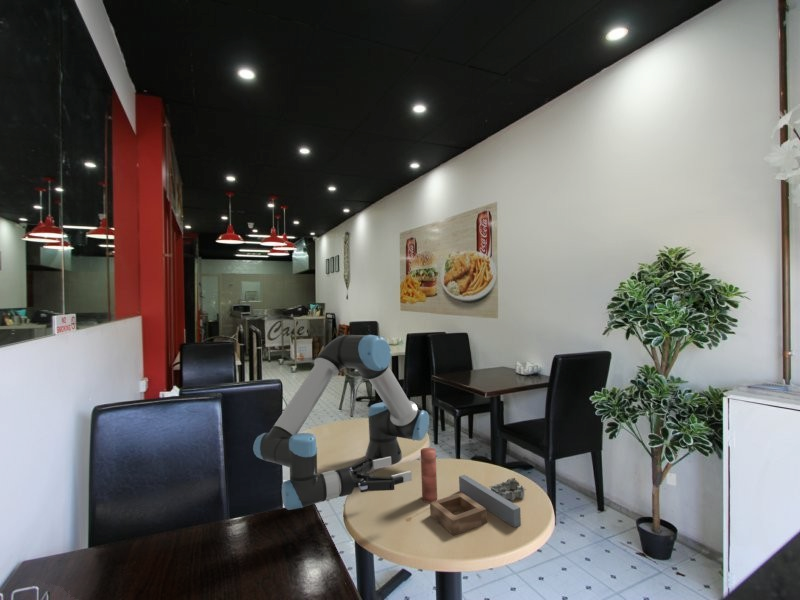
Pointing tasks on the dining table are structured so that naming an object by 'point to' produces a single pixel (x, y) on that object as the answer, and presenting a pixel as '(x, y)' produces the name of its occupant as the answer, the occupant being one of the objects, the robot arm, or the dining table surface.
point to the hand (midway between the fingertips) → (400, 467)
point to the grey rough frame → (506, 486)
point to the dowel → (428, 474)
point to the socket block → (460, 522)
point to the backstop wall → (490, 500)
